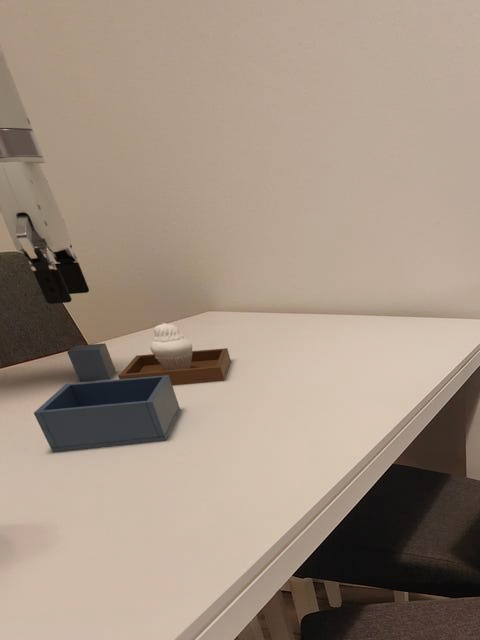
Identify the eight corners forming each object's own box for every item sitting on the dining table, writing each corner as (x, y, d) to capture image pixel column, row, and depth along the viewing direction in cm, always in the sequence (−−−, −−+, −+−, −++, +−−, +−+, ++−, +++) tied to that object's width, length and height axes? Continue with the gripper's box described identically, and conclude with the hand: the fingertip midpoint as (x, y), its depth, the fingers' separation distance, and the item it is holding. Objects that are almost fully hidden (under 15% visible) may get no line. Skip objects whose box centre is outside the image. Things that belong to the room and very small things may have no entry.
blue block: (79, 382, 93) (66, 351, 90) (87, 375, 96) (74, 345, 93) (110, 379, 94) (98, 349, 91) (116, 373, 97) (105, 343, 94)
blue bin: (52, 453, 68) (33, 412, 65) (81, 420, 77) (65, 383, 75) (166, 441, 70) (152, 401, 67) (180, 410, 80) (168, 374, 77)
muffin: (182, 364, 98) (167, 317, 94) (207, 368, 96) (193, 320, 91) (150, 373, 94) (133, 324, 89) (176, 377, 91) (159, 327, 87)
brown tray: (123, 390, 88) (118, 375, 87) (140, 368, 99) (136, 355, 98) (224, 381, 91) (220, 366, 90) (230, 361, 102) (227, 348, 100)
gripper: (1, 153, 83) (59, 291, 94) (-53, 147, 70) (22, 309, 81) (58, 151, 85) (109, 287, 95) (16, 145, 71) (81, 304, 82)
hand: (69, 297), depth 88 cm, fingers open, 9 cm apart
